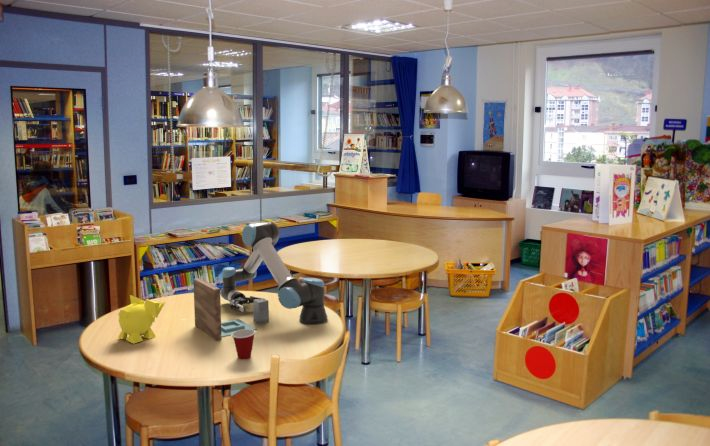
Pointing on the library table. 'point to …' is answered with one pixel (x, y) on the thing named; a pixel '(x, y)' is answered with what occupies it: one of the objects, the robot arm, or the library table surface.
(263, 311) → the bar
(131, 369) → the library table surface
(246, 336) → the plastic cup
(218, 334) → the door panel
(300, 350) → the library table surface
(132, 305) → the piggy bank
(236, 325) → the socket
